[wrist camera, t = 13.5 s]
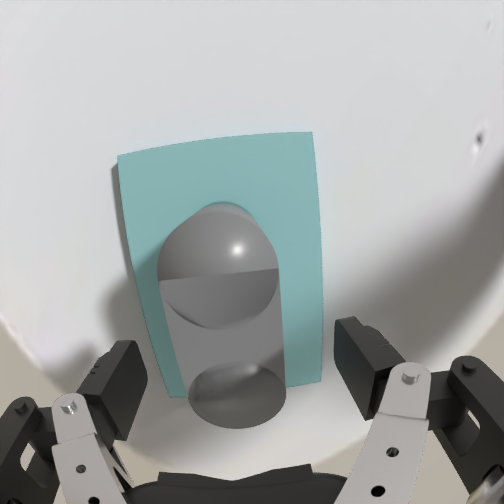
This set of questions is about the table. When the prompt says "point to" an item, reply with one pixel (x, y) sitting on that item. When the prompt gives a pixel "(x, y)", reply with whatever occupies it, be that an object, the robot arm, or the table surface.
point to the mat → (257, 204)
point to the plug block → (225, 315)
